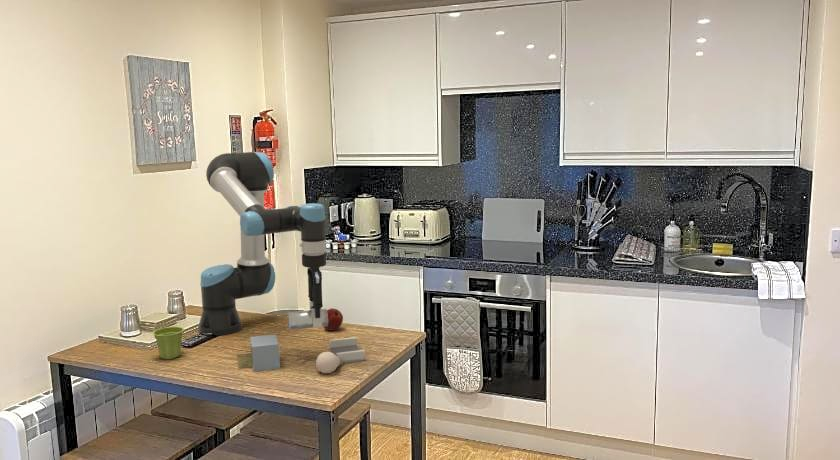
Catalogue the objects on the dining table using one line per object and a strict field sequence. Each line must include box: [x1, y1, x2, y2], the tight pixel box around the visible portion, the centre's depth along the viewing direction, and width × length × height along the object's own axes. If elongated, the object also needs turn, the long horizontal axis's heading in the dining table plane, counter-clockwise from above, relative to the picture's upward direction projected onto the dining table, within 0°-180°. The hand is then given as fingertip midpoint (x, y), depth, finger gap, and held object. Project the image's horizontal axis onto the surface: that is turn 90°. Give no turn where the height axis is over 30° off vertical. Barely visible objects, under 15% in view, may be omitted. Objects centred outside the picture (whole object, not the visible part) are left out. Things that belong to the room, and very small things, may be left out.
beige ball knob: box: [315, 351, 343, 374], centre depth 199 cm, size 7×7×11 cm
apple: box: [324, 307, 344, 331], centre depth 238 cm, size 7×8×8 cm
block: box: [249, 334, 281, 372], centre depth 204 cm, size 10×8×8 cm
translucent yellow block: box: [236, 352, 253, 369], centre depth 204 cm, size 4×8×4 cm, turn 109°
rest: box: [328, 336, 366, 364], centre depth 212 cm, size 14×9×3 cm, turn 18°
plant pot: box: [152, 326, 185, 360], centre depth 212 cm, size 9×9×9 cm
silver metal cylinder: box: [287, 308, 328, 331], centre depth 207 cm, size 12×6×6 cm, turn 108°
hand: (315, 324), depth 208 cm, fingers closed on silver metal cylinder, 6 cm apart
